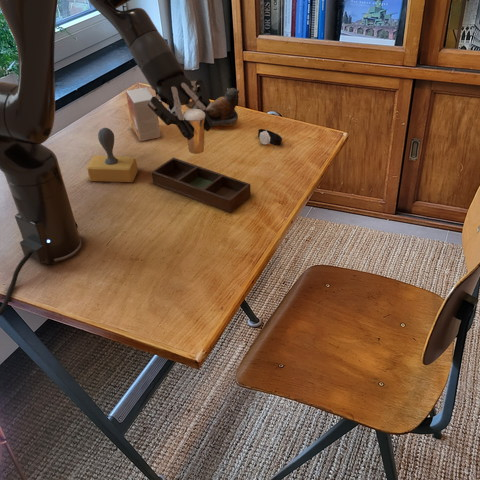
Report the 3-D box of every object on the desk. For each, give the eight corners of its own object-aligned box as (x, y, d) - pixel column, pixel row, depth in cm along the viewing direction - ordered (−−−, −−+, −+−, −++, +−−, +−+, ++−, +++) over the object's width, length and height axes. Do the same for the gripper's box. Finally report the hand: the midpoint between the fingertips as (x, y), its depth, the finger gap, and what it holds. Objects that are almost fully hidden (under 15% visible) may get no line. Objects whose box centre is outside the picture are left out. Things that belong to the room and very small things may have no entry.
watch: (253, 139, 149) (252, 126, 146) (267, 133, 151) (267, 120, 149) (272, 150, 144) (272, 137, 142) (286, 144, 147) (287, 131, 144)
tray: (230, 213, 124) (229, 200, 122) (153, 184, 133) (151, 171, 131) (250, 196, 129) (250, 184, 127) (174, 169, 138) (173, 157, 136)
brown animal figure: (193, 129, 153) (190, 92, 146) (199, 117, 158) (195, 81, 151) (239, 131, 152) (237, 94, 145) (242, 119, 157) (241, 83, 151)
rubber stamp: (138, 170, 137) (129, 123, 129) (132, 183, 133) (122, 135, 125) (97, 168, 138) (85, 121, 130) (89, 181, 134) (77, 134, 126)
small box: (132, 128, 153) (125, 90, 146) (152, 124, 155) (146, 86, 148) (140, 142, 148) (132, 102, 141) (161, 137, 149) (155, 98, 143)
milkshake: (209, 144, 127) (207, 100, 120) (205, 156, 123) (202, 111, 116) (189, 142, 127) (185, 99, 121) (183, 154, 123) (179, 110, 117)
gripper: (133, 61, 112) (181, 138, 114) (190, 41, 120) (233, 114, 122) (122, 80, 118) (167, 153, 120) (176, 60, 126) (218, 129, 128)
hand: (200, 133), depth 121 cm, fingers closed on milkshake, 4 cm apart
